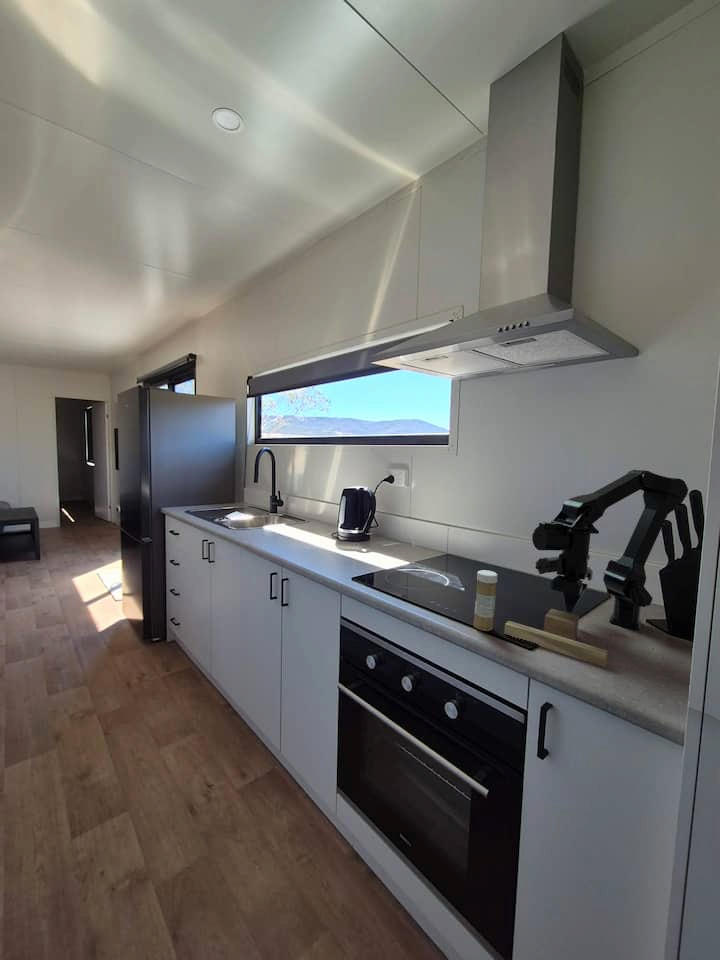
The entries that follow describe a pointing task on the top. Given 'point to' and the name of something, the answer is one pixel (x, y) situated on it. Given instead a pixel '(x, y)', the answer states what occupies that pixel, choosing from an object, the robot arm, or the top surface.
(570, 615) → the tan wooden block
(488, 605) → the sprinkles bottle
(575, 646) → the oak board
